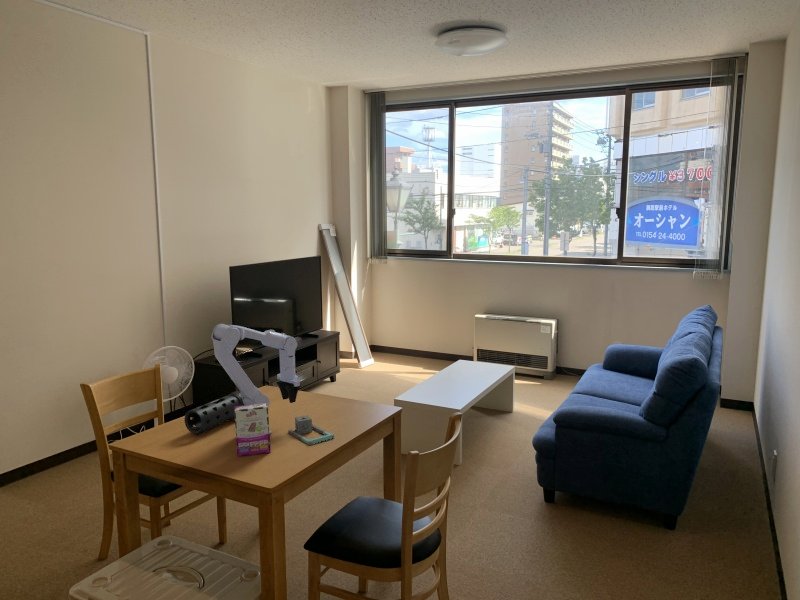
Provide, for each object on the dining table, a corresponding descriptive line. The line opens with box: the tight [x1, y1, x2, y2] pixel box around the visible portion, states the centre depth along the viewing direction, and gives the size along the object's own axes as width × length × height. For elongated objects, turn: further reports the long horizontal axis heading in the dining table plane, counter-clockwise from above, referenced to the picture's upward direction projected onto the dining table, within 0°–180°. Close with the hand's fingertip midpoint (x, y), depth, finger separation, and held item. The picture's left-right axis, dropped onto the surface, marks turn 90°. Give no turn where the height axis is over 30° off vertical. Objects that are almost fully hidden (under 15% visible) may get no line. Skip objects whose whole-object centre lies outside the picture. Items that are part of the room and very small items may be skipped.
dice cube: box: [294, 414, 313, 435], centre depth 224 cm, size 5×5×5 cm
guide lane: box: [287, 424, 335, 446], centre depth 219 cm, size 10×16×2 cm, turn 38°
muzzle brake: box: [184, 390, 244, 436], centre depth 232 cm, size 10×28×10 cm, turn 154°
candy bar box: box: [234, 403, 271, 458], centre depth 203 cm, size 11×5×16 cm, turn 106°
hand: (289, 400), depth 230 cm, fingers open, 5 cm apart
